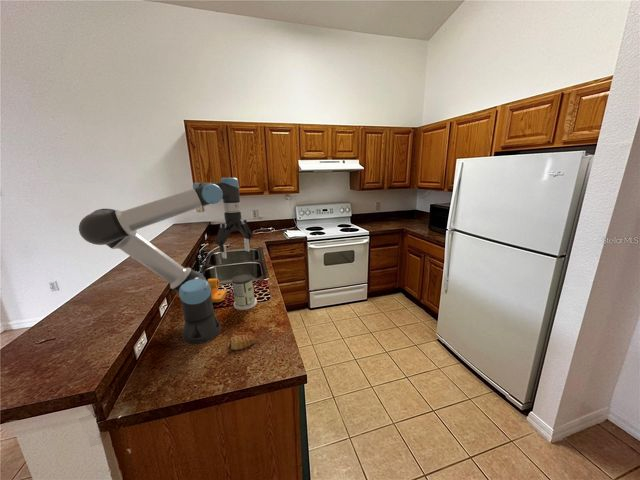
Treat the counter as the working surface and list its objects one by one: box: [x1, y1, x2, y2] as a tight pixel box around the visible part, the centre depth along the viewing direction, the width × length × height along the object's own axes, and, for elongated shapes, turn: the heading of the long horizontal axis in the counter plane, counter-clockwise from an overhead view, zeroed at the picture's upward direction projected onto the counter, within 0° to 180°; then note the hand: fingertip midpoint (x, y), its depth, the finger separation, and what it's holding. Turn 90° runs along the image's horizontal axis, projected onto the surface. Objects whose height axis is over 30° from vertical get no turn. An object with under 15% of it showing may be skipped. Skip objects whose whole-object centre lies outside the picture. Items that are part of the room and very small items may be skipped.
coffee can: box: [231, 273, 256, 307], centre depth 135 cm, size 10×10×14 cm
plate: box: [233, 297, 258, 311], centre depth 137 cm, size 12×12×1 cm
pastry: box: [230, 334, 255, 351], centre depth 106 cm, size 9×7×4 cm
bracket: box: [207, 278, 228, 303], centre depth 143 cm, size 11×7×12 cm, turn 2°
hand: (236, 254), depth 127 cm, fingers open, 13 cm apart
